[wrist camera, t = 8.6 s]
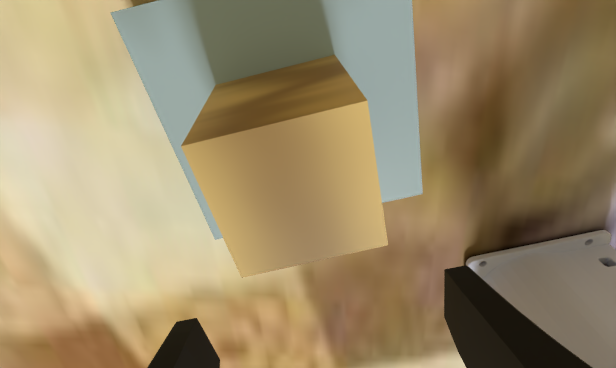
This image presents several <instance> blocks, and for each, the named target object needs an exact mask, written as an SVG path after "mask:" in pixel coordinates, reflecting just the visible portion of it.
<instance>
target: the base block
mask: <svg viewBox="0 0 616 368" xmlns="http://www.w3.org/2000/svg"><path fill="white" fill-rule="evenodd" d="M111 15H112V17H113V19H114V22H115V24H116V26H117V28H118V30H119V32H120V35H121V37H122V39H123V41H124V43H125V45H126V48H127V50H128V52H129V54H130V56H131V58H132V61H133V63H134V65H135V67H136V69H137V71H138V74H139V76H140V78H141V80H142V82H143V84H144V87H145V89H146V91H147V93H148V95H149V97H150V100H151V102H152V104H153V106H154V108H155V110H156V113H157V115H158V117H159V119H160V121H161V123H162V126H163V128H164V130H165V132H166V134H167V136H168V138H169V141H170V143H171V145H172V147H173V149H174V151H175V154H176V156H177V158H178V160H179V162H180V164H181V167H182V169H183V171H184V173H185V175H186V177H187V180H188V182H189V184H190V186H191V188H192V190H193V193H194V195H195V197H196V199H197V201H198V203H199V206H200V208H201V210H202V212H203V214H204V216H205V219H206V221H207V223H208V225H209V227H210V229H211V232H212V234H213V236H214V238H215V240H216V239H221V238H223V236H222V234H221V232H220V230H219V228H218V225H217V223H216V221H215V219H214V217H213V215H212V212H211V210H210V208H209V206H208V204H207V202H206V199H205V197H204V195H203V193H202V191H201V189H200V187H199V184H198V182H197V180H196V178H195V176H194V174H193V171H192V169H191V167H190V165H189V163H188V161H187V158H186V156H185V154H184V152H183V150H182V148H181V145H182V143H183V142H184V140H185V138H186V136H187V135H188V133H189V131H190V129H191V128H192V126H193V124H194V122H195V120H196V119H197V117H198V115H199V113H200V112H201V110H202V108H203V106H204V105H205V103H206V101H207V99H208V97H209V96H210V94H211V92H212V90H213V89H214V87H215V85H217V84H221V83H225V82H229V81H233V80H237V79H241V78H245V77H249V76H253V75H256V74H260V73H264V72H268V71H272V70H276V69H280V68H284V67H288V66H292V65H296V64H300V63H304V62H308V61H312V60H316V59H320V58H324V57H327V56H331V55H335V56H336V57H337V58H338V60H339V61H340V63H341V64H342V65H343V67H344V68H345V70H346V71H347V72H348V74H349V75H350V77H351V78H352V79H353V81H354V82H355V84H356V85H357V86H358V88H359V89H360V91H361V92H362V93H363V95H364V96H365V98H366V99H367V100H368V107H369V114H370V121H371V128H372V136H373V143H374V150H375V157H376V164H377V171H378V178H379V185H380V192H381V199H382V203H384V202H388V201H393V200H397V199H402V198H406V197H411V196H415V195H420V194H423V193H422V175H421V157H420V139H419V120H418V102H417V84H416V66H415V48H414V30H413V11H412V0H158V1H154V2H150V3H146V4H142V5H138V6H134V7H131V8H127V9H123V10H119V11H115V12H111Z"/></svg>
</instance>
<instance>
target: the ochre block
mask: <svg viewBox="0 0 616 368" xmlns="http://www.w3.org/2000/svg"><path fill="white" fill-rule="evenodd" d="M181 148H182V150H183V152H184V154H185V156H186V158H187V161H188V163H189V165H190V167H191V169H192V171H193V174H194V176H195V178H196V180H197V182H198V184H199V187H200V189H201V191H202V193H203V195H204V197H205V199H206V202H207V204H208V206H209V208H210V210H211V212H212V215H213V217H214V219H215V221H216V223H217V225H218V228H219V230H220V232H221V234H222V236H223V238H224V241H225V243H226V245H227V247H228V249H229V251H230V253H231V256H232V258H233V260H234V262H235V264H236V266H237V269H238V271H239V273H240V275H241V277H247V276H251V275H256V274H260V273H265V272H269V271H274V270H278V269H283V268H287V267H292V266H296V265H301V264H305V263H310V262H314V261H319V260H323V259H328V258H332V257H337V256H341V255H346V254H350V253H355V252H359V251H364V250H368V249H373V248H377V247H382V246H386V245H388V242H387V235H386V227H385V220H384V213H383V206H382V199H381V192H380V185H379V178H378V171H377V164H376V157H375V150H374V143H373V136H372V128H371V121H370V114H369V107H368V100H367V99H366V98H365V96H364V95H363V93H362V92H361V91H360V89H359V88H358V86H357V85H356V84H355V82H354V81H353V79H352V78H351V77H350V75H349V74H348V72H347V71H346V70H345V68H344V67H343V65H342V64H341V63H340V61H339V60H338V58H337V57H336V56H335V55H331V56H327V57H324V58H320V59H316V60H312V61H308V62H304V63H300V64H296V65H292V66H288V67H284V68H280V69H276V70H272V71H268V72H264V73H260V74H256V75H253V76H249V77H245V78H241V79H237V80H233V81H229V82H225V83H221V84H217V85H215V87H214V89H213V90H212V92H211V94H210V96H209V97H208V99H207V101H206V103H205V105H204V106H203V108H202V110H201V112H200V113H199V115H198V117H197V119H196V120H195V122H194V124H193V126H192V128H191V129H190V131H189V133H188V135H187V136H186V138H185V140H184V142H183V143H182V145H181Z"/></svg>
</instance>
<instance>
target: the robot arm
mask: <svg viewBox="0 0 616 368" xmlns="http://www.w3.org/2000/svg"><path fill="white" fill-rule="evenodd" d="M610 240H611V234H610V233H609V232H608V231H606V230H600V231H595V232H590V233H585V234H580V235H575V236H570V237H566V238H561V239H556V240H551V241H546V242H541V243H536V244H532V245H527V246H522V247H517V248H512V249H507V250H502V251H498V252H493V253H488V254H483V255H478V256H473V257H470V258H469V259H468V260H467V261H466V266H461V267H455V268H450V269H445V296H444V317H445V320H446V322H447V325H448V327H449V330H450V332H451V335H452V337H453V340H454V342H455V345H456V347H457V350H458V352H459V354H460V356H461V358H462V360H463V362H464V364H465V366H466V368H616V249H614V248H613V247H612V246H611V245H609V243H610ZM148 368H220V359H219V357H218V355H217V353H216V352H215V350H214V348H213V346H212V344H211V343H210V341H209V339H208V337H207V335H206V334H205V332H204V330H203V328H202V327H201V325H200V323H199V321H198V319H197V318H194V319H189V320H184V321H179V322H176V324H175V325H174V327H173V328H172V330H171V331H170V333H169V334H168V336H167V337H166V339H165V341H164V342H163V344H162V345H161V347H160V349H159V350H158V352H157V353H156V355H155V357H154V358H153V360H152V361H151V363H150V364H149V366H148Z"/></svg>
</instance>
